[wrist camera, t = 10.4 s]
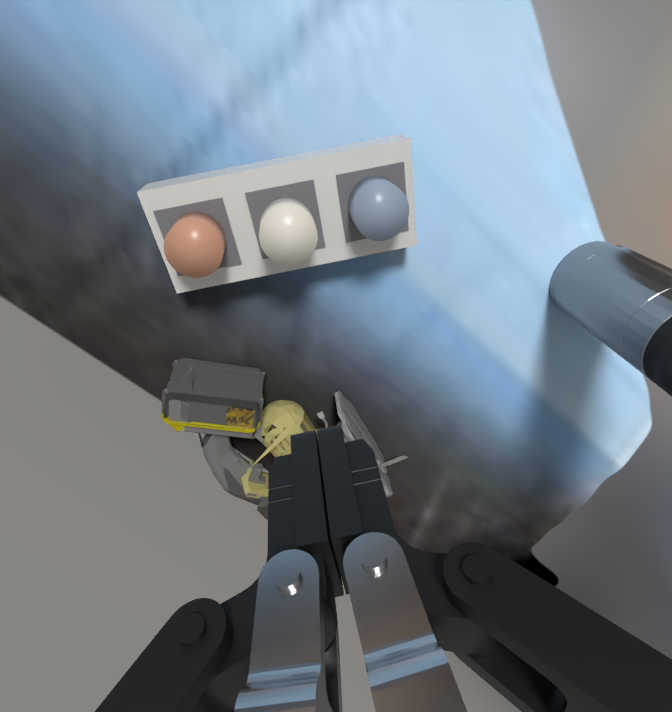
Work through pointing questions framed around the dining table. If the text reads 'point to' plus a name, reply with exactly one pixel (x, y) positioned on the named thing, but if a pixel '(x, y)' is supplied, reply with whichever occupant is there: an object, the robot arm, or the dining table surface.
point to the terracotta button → (195, 245)
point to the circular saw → (246, 422)
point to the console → (283, 180)
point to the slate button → (378, 208)
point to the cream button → (287, 231)
